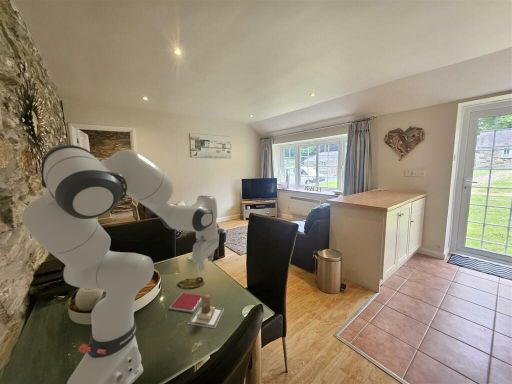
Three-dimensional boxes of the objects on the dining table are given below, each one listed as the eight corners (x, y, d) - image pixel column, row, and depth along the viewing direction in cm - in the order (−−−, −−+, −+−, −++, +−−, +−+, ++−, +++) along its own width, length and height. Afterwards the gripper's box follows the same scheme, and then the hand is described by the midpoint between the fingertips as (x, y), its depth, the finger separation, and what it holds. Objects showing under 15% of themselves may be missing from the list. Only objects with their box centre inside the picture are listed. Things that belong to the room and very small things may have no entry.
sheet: (214, 328, 88) (214, 327, 88) (187, 323, 90) (187, 322, 90) (224, 309, 100) (224, 308, 100) (200, 306, 102) (200, 305, 102)
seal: (175, 291, 115) (203, 290, 117) (174, 284, 114) (203, 282, 116) (179, 280, 124) (205, 279, 126) (178, 273, 123) (205, 272, 125)
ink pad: (193, 312, 97) (193, 310, 97) (169, 309, 99) (169, 306, 99) (204, 297, 109) (204, 294, 109) (182, 294, 111) (182, 292, 111)
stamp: (209, 321, 91) (209, 302, 90) (196, 319, 92) (196, 300, 91) (215, 312, 97) (215, 293, 96) (202, 310, 98) (202, 292, 97)
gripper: (203, 241, 80) (203, 277, 81) (221, 228, 100) (221, 256, 101) (187, 240, 81) (188, 275, 82) (208, 227, 101) (208, 255, 102)
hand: (206, 264), depth 92 cm, fingers open, 8 cm apart
